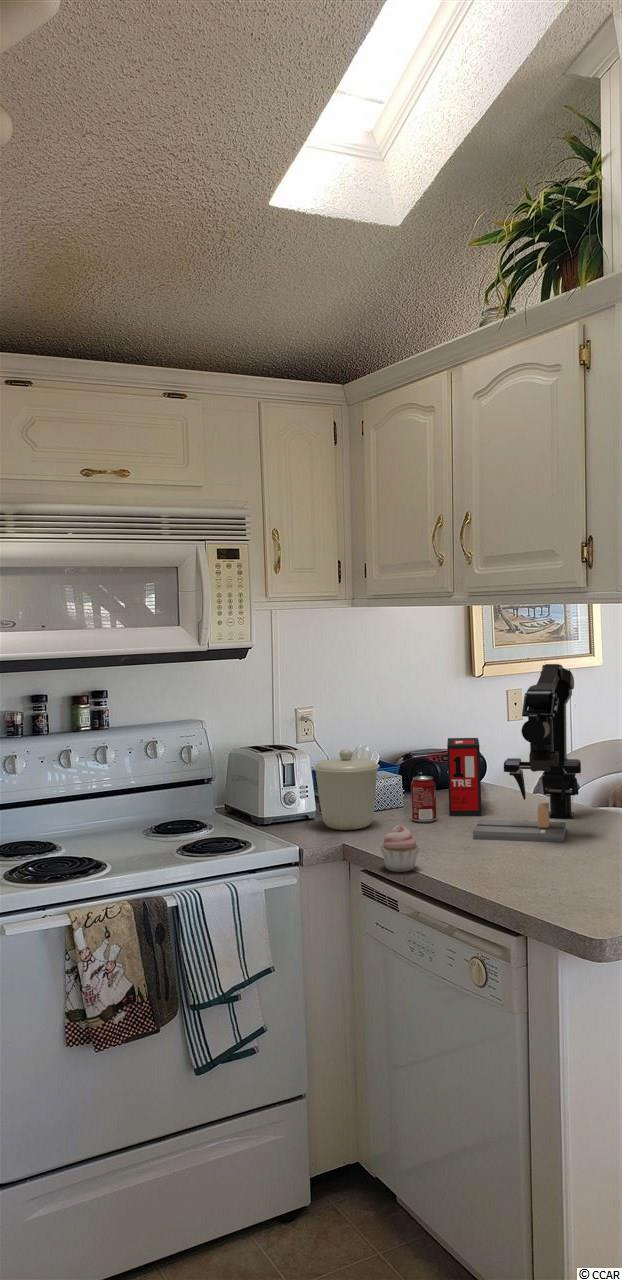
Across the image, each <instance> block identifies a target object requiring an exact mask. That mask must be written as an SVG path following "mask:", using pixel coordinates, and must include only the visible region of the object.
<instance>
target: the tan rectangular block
mask: <svg viewBox="0 0 622 1280" xmlns="http://www.w3.org/2000/svg"><path fill="white" fill-rule="evenodd" d="M549 811H550V802H539V803H538V806H537V821H538V827H542V828H548V827H549V823H550V822H551V821H550V817H549Z"/></svg>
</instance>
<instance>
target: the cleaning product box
mask: <svg viewBox="0 0 622 1280" xmlns="http://www.w3.org/2000/svg"><path fill="white" fill-rule="evenodd" d="M446 746H447V749H446V750H447V776H448V778H447V779H448V807H449V809H448V810H449V811H448V812H449V813H448V814H449V815H448V816H449V817H482V792H481V791H482V790H481V788H482V787H481V783H482V782H481V755H480V754H481V753H480V750H481V749H480V748H481V747H480V741H479V737H451V738H450V737H447V745H446Z"/></svg>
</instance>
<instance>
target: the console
mask: <svg viewBox="0 0 622 1280" xmlns="http://www.w3.org/2000/svg"><path fill="white" fill-rule="evenodd" d="M566 831H567V823H566V821H550V823H549V827H548V828H542V827H538V820H536V821H535V820H516V819H514V820H511V819H482V818H480V819H479V820H478V822H477V825H475V827H474V828H473V831H472V839H473V840H494V841H496V840H497V841H515V842H516V841H520V842H542V843H543V842H545V843H546V842H547V843H549V842H550V843H565V837H566Z"/></svg>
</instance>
